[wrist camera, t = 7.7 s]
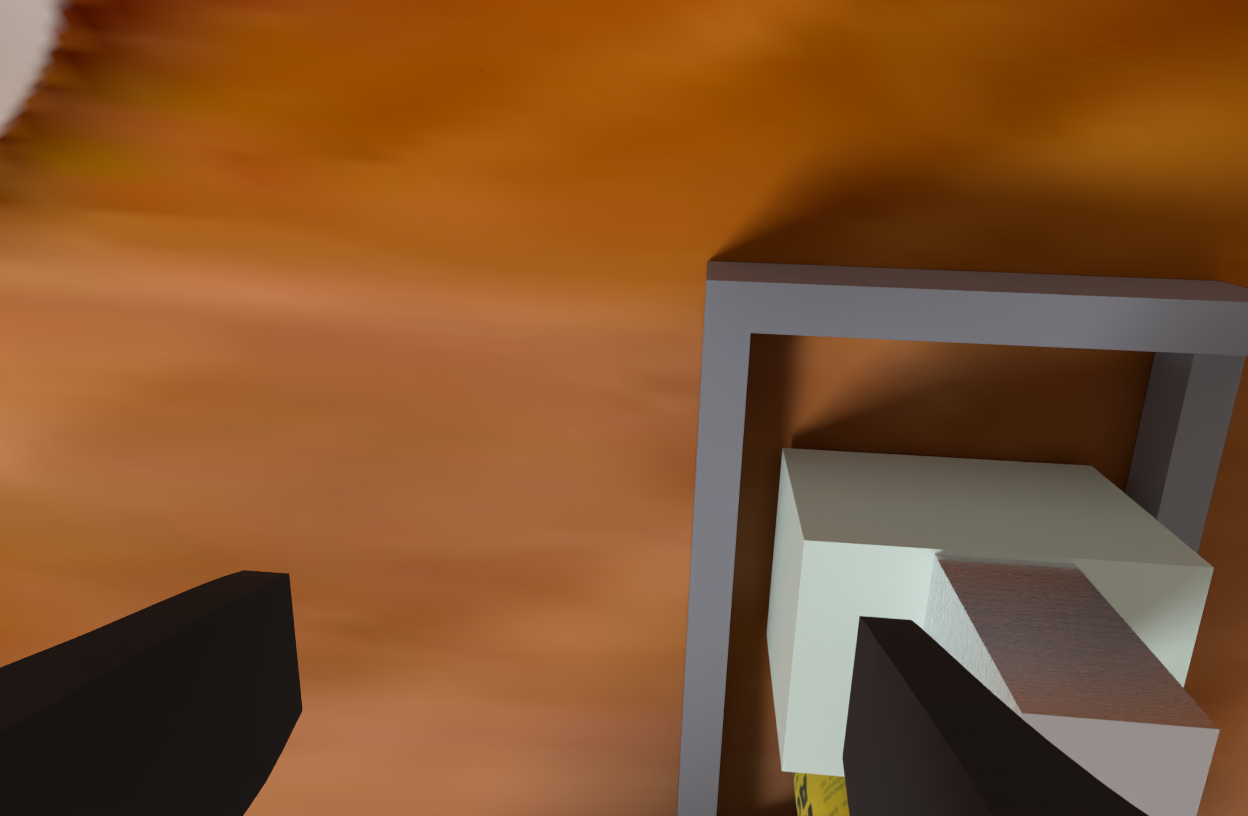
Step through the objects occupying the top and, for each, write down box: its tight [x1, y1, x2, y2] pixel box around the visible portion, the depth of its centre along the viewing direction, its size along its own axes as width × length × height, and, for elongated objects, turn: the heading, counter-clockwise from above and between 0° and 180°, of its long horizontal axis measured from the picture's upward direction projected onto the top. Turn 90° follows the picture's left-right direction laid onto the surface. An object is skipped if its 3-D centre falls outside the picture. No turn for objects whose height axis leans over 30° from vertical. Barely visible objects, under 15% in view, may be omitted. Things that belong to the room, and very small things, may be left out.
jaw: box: [767, 448, 1220, 816], centre depth 16 cm, size 7×5×10 cm
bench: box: [677, 261, 1248, 816], centre depth 19 cm, size 11×17×6 cm, turn 179°
